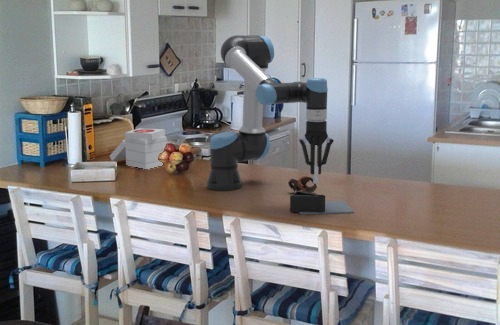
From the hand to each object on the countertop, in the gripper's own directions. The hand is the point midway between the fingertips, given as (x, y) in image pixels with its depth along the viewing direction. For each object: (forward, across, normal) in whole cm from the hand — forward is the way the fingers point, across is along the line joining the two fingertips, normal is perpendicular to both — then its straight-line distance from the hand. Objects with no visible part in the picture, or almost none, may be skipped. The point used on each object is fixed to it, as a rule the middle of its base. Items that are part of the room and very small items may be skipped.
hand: (315, 182), depth 235 cm
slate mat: (+10, +3, 0) cm, 10 cm away
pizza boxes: (+10, -75, +93) cm, 120 cm away
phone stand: (+6, -8, -1) cm, 11 cm away
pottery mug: (+10, -1, +23) cm, 26 cm away
